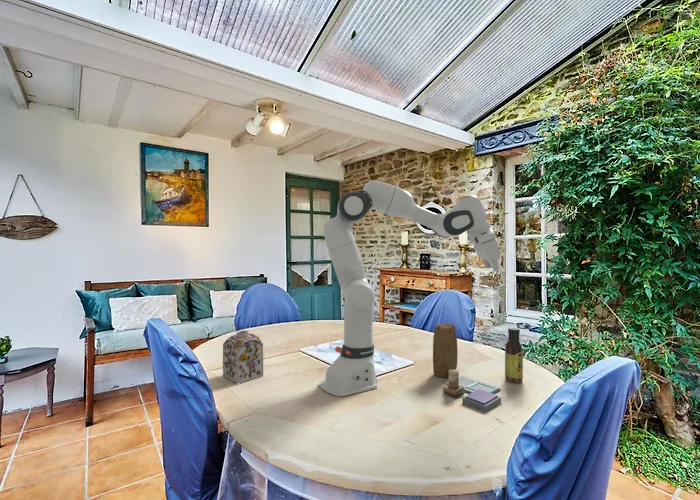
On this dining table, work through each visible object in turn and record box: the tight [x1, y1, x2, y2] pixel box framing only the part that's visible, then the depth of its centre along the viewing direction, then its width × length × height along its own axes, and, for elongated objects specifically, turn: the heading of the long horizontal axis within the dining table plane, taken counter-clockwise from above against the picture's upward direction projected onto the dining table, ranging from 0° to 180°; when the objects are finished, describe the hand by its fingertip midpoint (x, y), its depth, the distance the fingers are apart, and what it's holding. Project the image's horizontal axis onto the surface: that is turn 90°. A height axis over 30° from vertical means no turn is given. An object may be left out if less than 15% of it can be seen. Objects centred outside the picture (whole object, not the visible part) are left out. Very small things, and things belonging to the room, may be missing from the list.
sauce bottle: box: [504, 327, 524, 384], centre depth 132 cm, size 6×6×20 cm
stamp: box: [442, 369, 465, 399], centre depth 121 cm, size 5×5×8 cm
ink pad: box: [462, 389, 502, 413], centre depth 114 cm, size 10×8×2 cm
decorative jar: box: [222, 330, 264, 385], centre depth 137 cm, size 12×12×18 cm
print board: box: [446, 375, 501, 394], centre depth 126 cm, size 11×15×1 cm
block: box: [432, 322, 458, 378], centre depth 139 cm, size 11×8×20 cm
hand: (492, 269), depth 134 cm, fingers open, 8 cm apart
